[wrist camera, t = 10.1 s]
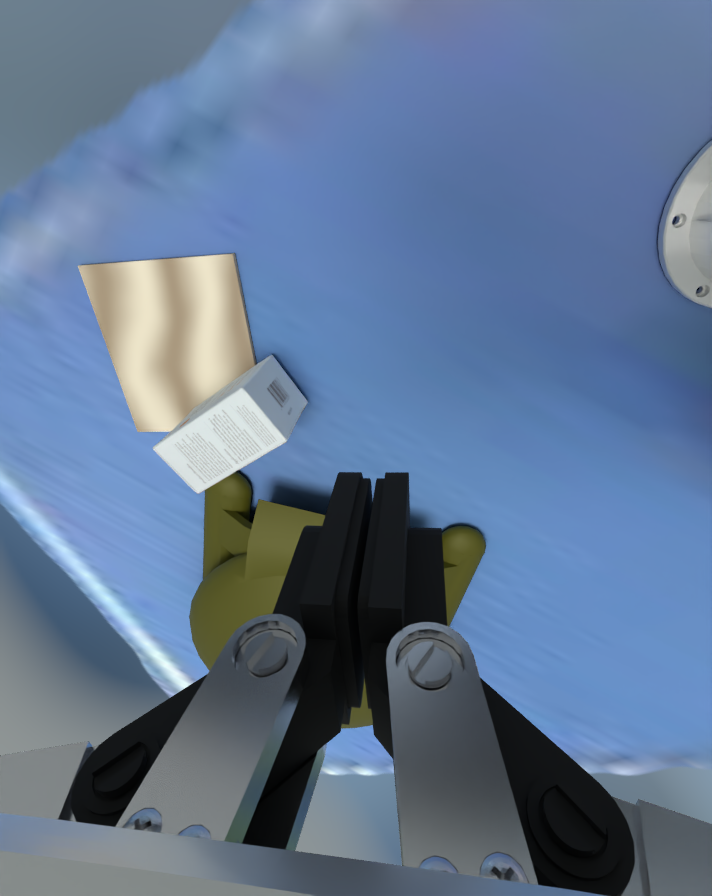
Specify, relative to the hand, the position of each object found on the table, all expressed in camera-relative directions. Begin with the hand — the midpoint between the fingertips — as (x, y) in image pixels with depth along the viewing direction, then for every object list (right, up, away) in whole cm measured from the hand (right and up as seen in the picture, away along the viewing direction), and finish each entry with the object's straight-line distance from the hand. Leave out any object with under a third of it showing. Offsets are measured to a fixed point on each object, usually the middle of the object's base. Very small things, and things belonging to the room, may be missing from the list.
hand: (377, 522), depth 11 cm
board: (-17, +11, +30) cm, 36 cm away
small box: (-7, +6, +26) cm, 27 cm away
